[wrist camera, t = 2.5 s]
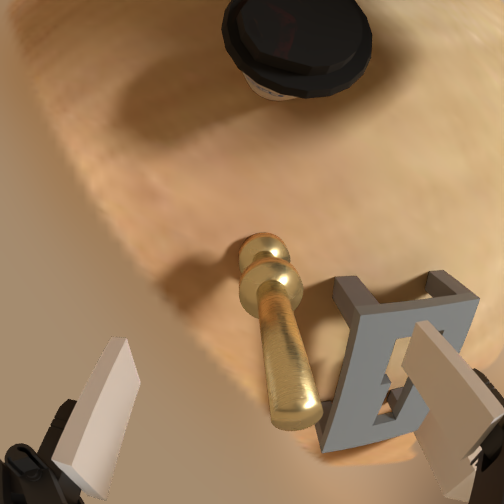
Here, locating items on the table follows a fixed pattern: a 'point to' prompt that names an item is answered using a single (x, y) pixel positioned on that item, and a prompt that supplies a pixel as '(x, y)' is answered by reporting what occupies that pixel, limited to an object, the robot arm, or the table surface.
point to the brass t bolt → (279, 330)
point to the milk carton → (446, 461)
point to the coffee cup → (297, 45)
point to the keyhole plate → (386, 359)
